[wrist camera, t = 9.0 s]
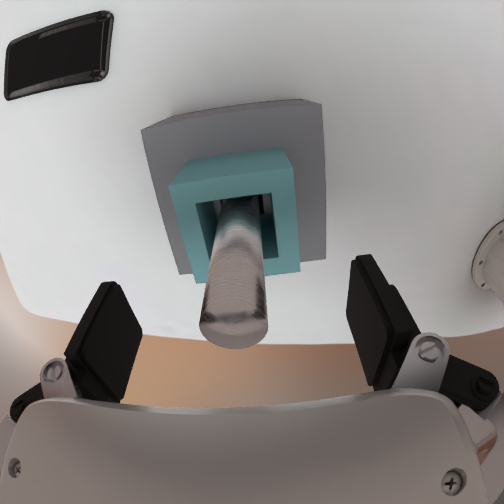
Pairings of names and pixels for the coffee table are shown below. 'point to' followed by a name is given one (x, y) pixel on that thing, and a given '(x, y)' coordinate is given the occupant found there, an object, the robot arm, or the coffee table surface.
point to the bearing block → (243, 140)
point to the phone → (59, 55)
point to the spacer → (236, 185)
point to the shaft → (236, 278)
